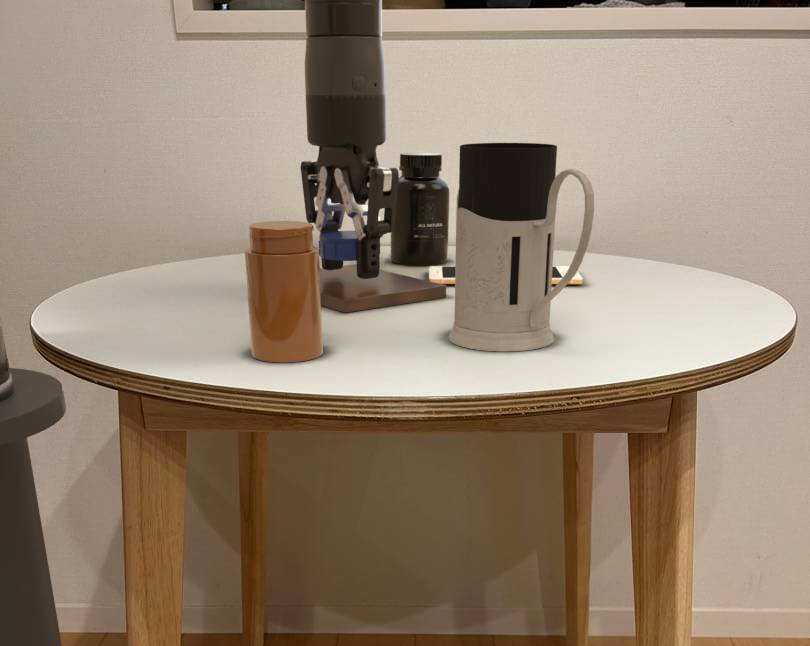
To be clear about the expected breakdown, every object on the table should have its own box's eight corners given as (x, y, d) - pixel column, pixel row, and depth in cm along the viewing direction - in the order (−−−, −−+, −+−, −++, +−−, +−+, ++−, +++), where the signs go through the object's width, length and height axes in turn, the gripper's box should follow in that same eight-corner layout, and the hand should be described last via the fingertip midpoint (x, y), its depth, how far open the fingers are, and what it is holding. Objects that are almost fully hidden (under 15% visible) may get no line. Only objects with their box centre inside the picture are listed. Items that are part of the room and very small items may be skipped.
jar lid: (368, 250, 105) (368, 229, 104) (387, 258, 99) (387, 236, 99) (313, 254, 103) (312, 232, 102) (329, 262, 98) (328, 240, 97)
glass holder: (510, 322, 90) (517, 141, 83) (622, 356, 79) (640, 150, 72) (428, 334, 85) (429, 144, 79) (535, 372, 74) (546, 155, 68)
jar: (274, 366, 76) (266, 232, 72) (239, 352, 80) (229, 223, 76) (336, 355, 79) (332, 225, 75) (299, 341, 83) (293, 218, 79)
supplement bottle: (429, 268, 115) (430, 156, 111) (379, 263, 119) (378, 154, 114) (458, 259, 121) (460, 152, 116) (410, 255, 124) (410, 150, 119)
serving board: (345, 313, 93) (344, 299, 93) (261, 287, 105) (260, 275, 105) (446, 297, 100) (446, 285, 99) (356, 274, 112) (356, 263, 111)
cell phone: (583, 284, 105) (583, 278, 105) (428, 284, 105) (428, 278, 105) (573, 271, 112) (573, 266, 112) (428, 271, 112) (428, 265, 112)
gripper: (423, 91, 92) (422, 279, 99) (337, 90, 102) (342, 260, 109) (354, 91, 88) (358, 288, 95) (272, 90, 98) (281, 267, 105)
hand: (349, 272), depth 102 cm, fingers closed on jar lid, 6 cm apart
